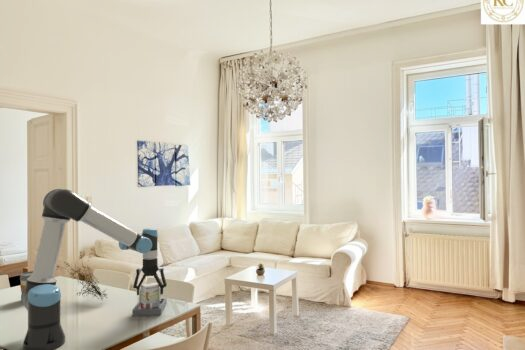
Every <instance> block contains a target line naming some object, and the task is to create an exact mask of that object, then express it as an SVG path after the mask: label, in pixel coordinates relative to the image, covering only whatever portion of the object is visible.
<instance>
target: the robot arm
mask: <svg viewBox="0 0 525 350" xmlns="http://www.w3.org/2000/svg"><path fill="white" fill-rule="evenodd" d="M42 205H43V210H42V213H41V214H42V215H41V218H42V219H43V221H44V223H43V226H42V230H41V235H40V239H39V244H38V248H37V252H36V256H35V262H34V265H33V270H32V271H33V273H32V275H31V276H30V277H29V278H27V282H26V286H25V288H24V289H23V291H22V293H21V294H20V301H21V304H22V305H23V307H24V308H25V309H26V311H27V330H26V334H25V335H24V339H23V343H22V350H54V349H57V348H59V347H62V345H64V344H65V343H66V335H65V332H64V330H63V326H62V324H61V297H62V293H61V289H60V287H59V286H58V285H57V279H56V277H55V272H56V270H57V269H56V268H57V265H58V264H57V263H58V259H59V256H60V251H61V247H62V242H63V236H64V232H65V228H66V224H67V223H69V222H70V221H71V220H73V221H75V222H82V223H84V224H86V225H87V226H89V227H91V228H93V229H94V230H97V231H99V232H100V233H102V234H104V235H105V236H108V237H110V238H112V239H113V240H115V241H116V242H118V247H119V249H120V250H122V251H127V250H132V251H135V252H137V253H139V254H142V267H141V268H137V269H135V270H136V275H135V278H134V283H133V285H132V287H133V289H136V295H137V296H138V302H141V285H143V283H144V281H145V279H146V277H154V279H155V281H156V283H158V285H159V301H161V298H162V295H163V294H164V288H167V280H166V277H165V273H164V267H159V266H158V265H159V264H158V256H159V255H158V237H159V235H158V229H157V228H154V227H149V228H143V229H142V232H141V233H140V232H139V233H138V232H136V231H135V230H133V229H131V228H129V227H128V226H126V225H124V223H123V224H122V223H121V222H119V221H118V220H116V219H114V218H112V217H110V216H109V215H107V214H105V213H104V212H102V211H100V210H98V209H96V208H95V207H94V206H92V204H91V202H89V201H88V200H86V199H84V198H83V197H82V196H80V195H78V194H77V193H76V192H75V191H73V190H71V189H63V188H56V189H52V190H50V191H48V193H46V194H45V195H44V198H43V203H42ZM141 272H142V273H143V275H142V277H141V279H140V281H139V278H140V275H141ZM158 272H159V273H160V278H161V279H160V278H159V276H158ZM138 282H139V283H138Z"/></svg>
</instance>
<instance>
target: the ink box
mask: <svg viewBox="0 0 525 350" xmlns="http://www.w3.org/2000/svg"><path fill="white" fill-rule="evenodd" d="M140 288H141V308H142V309H144V302H146V309H150V302H152V308H154V307H159V288H160V286H159V285H158V283H157V282H150V283H144V284H143V283H142V285H141V286H140Z"/></svg>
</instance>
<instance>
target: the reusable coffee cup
mask: <svg viewBox="0 0 525 350" xmlns="http://www.w3.org/2000/svg"><path fill="white" fill-rule="evenodd" d="M32 273H33V270H31V271H27V272H26V271H25V272H22V273H20V275H19V280H20V285H19V286H20V292H21V294H22V291H23V289H24V288H25V286H26V282H27V278H29V277H30V276H31V275H32Z"/></svg>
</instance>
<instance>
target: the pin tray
mask: <svg viewBox="0 0 525 350" xmlns="http://www.w3.org/2000/svg"><path fill="white" fill-rule="evenodd" d="M167 299H168V298H167V297H161V301H159V307H154V308H152V302H150V309H146V302H144V309H142V308H141V302H139V301H137V303H136V304H135V306H134V307H133V309H132V317H139V316H140V317H141V316H162V314H163V312H164V310H165V307H166V306H167Z"/></svg>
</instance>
